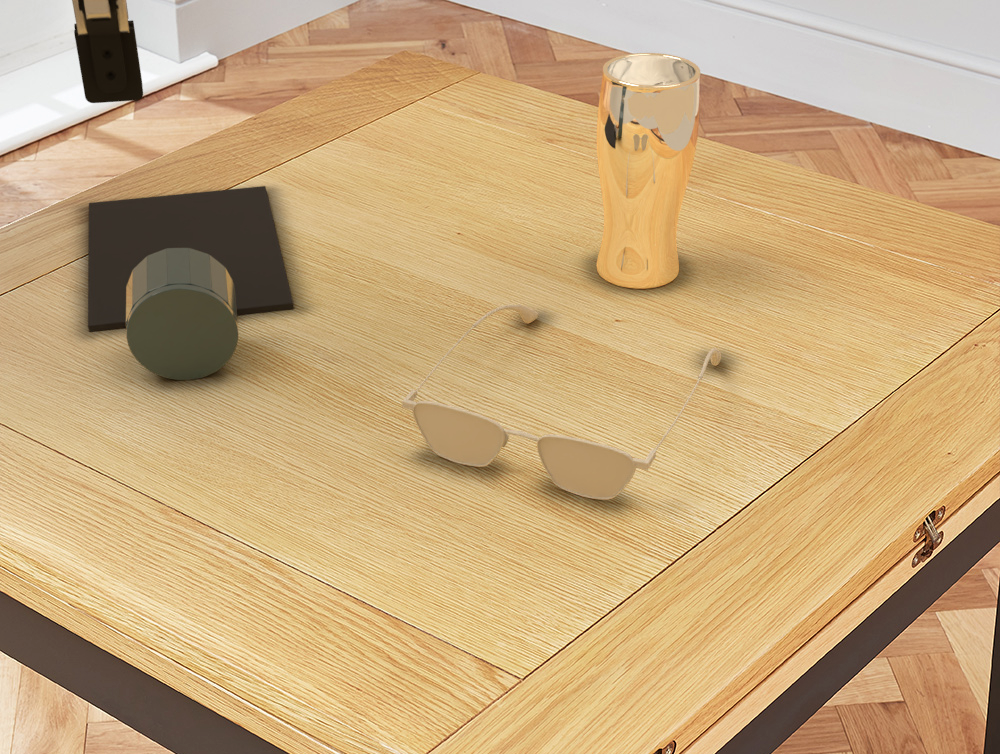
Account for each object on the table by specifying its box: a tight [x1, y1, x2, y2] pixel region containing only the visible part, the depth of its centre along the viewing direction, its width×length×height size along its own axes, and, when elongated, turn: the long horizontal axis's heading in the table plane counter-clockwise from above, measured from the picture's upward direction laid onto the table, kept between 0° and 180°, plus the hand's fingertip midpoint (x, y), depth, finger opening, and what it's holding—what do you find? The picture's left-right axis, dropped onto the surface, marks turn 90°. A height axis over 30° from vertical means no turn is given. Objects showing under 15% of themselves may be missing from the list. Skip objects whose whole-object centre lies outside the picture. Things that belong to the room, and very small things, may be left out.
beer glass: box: [596, 52, 701, 290], centre depth 95 cm, size 7×7×15 cm
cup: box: [125, 248, 239, 381], centre depth 87 cm, size 7×7×5 cm
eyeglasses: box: [401, 304, 722, 501], centre depth 84 cm, size 15×18×4 cm
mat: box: [87, 185, 295, 333], centre depth 101 cm, size 20×14×1 cm
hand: (114, 95), depth 77 cm, fingers closed
